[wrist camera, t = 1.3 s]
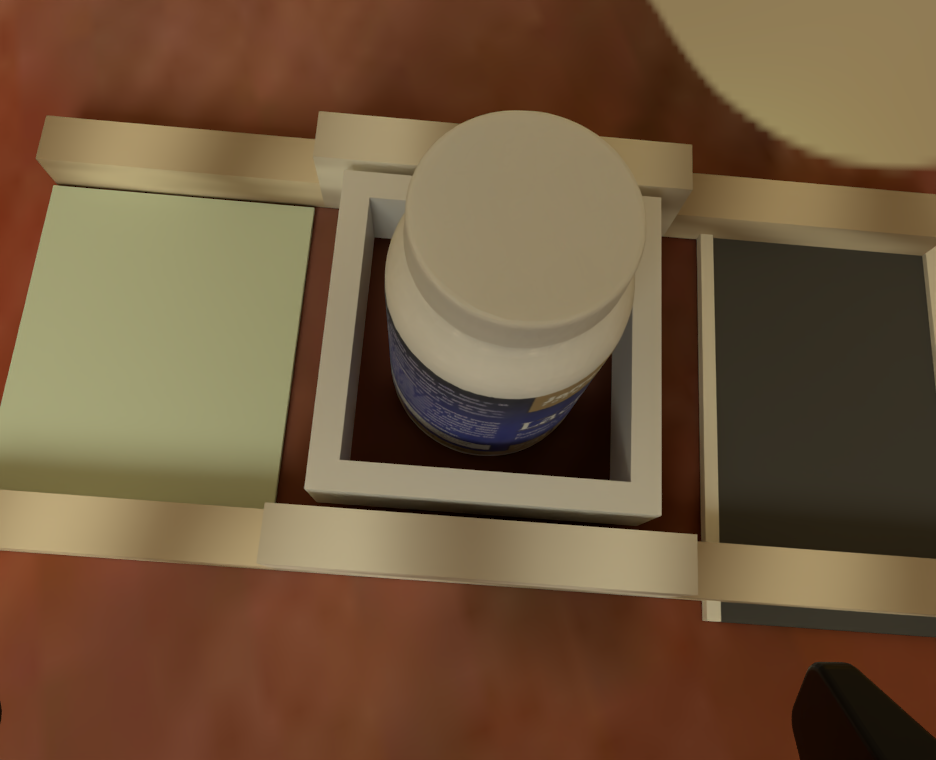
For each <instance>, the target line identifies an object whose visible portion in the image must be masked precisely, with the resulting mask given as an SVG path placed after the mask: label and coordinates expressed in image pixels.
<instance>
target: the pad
mask: <svg viewBox="0 0 936 760" xmlns="http://www.w3.org/2000/svg"><path fill="white" fill-rule="evenodd" d="M314 215H315V209H314V208H312V207H301V206H289V205H277V204H266V203H254V202H243V201H231V200H219V199H208V198H196V197H184V196H173V195H161V194H150V193H138V192H126V191H115V190H103V189H91V188H80V187H68V186H57V185H53V189H52V194H51V198H50V202H49V206H48V210H47V214H46V219H45V223H44V227H43V231H42V235H41V239H40V244H39V248H38V252H37V256H36V260H35V264H34V269H33V273H32V277H31V281H30V285H29V289H28V294H27V298H26V302H25V306H24V310H23V314H22V319H21V323H20V327H19V331H18V335H17V339H16V344H15V348H14V352H13V356H12V360H11V364H10V369H9V373H8V377H7V381H6V385H5V389H4V394H3V398H2V402H1V406H0V490H13V491H26V492H40V493H53V494H67V495H80V496H94V497H107V498H121V499H134V500H148V501H161V502H175V503H188V504H202V505H215V506H229V507H242V508H256V509H264V505H265V502H267V503H276V497H277V489H278V482H279V474H280V467H281V460H282V452H283V445H284V437H285V430H286V423H287V415H288V408H289V400H290V393H291V385H292V378H293V371H294V363H295V356H296V348H297V341H298V334H299V326H300V319H301V311H302V304H303V297H304V289H305V282H306V274H307V267H308V260H309V252H310V245H311V237H312V230H313V222H314Z"/></svg>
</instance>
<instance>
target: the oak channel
mask: <svg viewBox="0 0 936 760" xmlns="http://www.w3.org/2000/svg"><path fill="white" fill-rule="evenodd" d="M457 125H459V124H457V123H445V122H434V121H423V120H412V119H401V118H390V117H379V116H368V115H356V114H345V113H334V112H323V111H319V115H318V123H317V130H316V137H315V139H305V138H294V137H283V136H271V135H260V134H249V133H238V132H226V131H215V130H204V129H193V128H181V127H170V126H159V125H148V124H136V123H125V122H114V121H102V120H91V119H80V118H69V117H57V116H46V119H45V123H44V127H43V131H42V135H41V139H40V143H39V147H38V151H37V155H36V160H37V161H38V162H39V163H40V164H41V166H42V167H43V168H44V169H45V170H46V172H47V173H48V174H49V175H50V176H51V177H52V179H53V180H54V181H55V182H56V183H57V184H60V185H72V186H83V187H95V188H106V189H118V190H130V191H141V192H153V193H164V194H176V195H188V196H199V197H211V198H223V199H234V200H246V201H257V202H269V203H281V204H292V205H304V206H315V207H327V208H339V207H340V199H341V191H342V183H343V175H344V170H353V171H364V172H376V173H387V174H398V175H410V176H413V174H414V171H415V169H416V167H417V165H418V164H419V162H420V160H421V159H422V157H423V156H424V154H425V153H426V152H427V151H428V150H429V148H430V147H431V146H432V145H433V144H434V143H435V142H436V141H437V140H438V139H439V138H440V137H442V136H443V135H444V134H445V133H446V132H448V131H450V130H451V129H453V128H454V127H456V126H457ZM599 137H600V138H602V139H603V140H604V141H606V142H607V143H608V144H609V145H610V146H611V147H612V148H613V149H614V150H615V151H616V152H617V153H618V154H619V155H620V157H621V158H622V159H623V160H624V162H625V163H626V165H627V166H628V167H629V169H630V171H631V172H632V174H633V176H634V178H635V180H636V182H637V184H638V187H639V189H640V191H641V194H642V196H649V197H661V236H664V237H675V238H687V239H697V238H698V237H699V235H700V234H709V235H713V238H721V239H733V240H744V241H756V242H767V243H779V244H791V245H802V246H814V247H825V248H837V249H849V250H860V251H872V252H883V253H895V254H907V255H918V256H923V255H924V254H926V253H927V252H928V251H930V250H931V249H932V248H934V247H935V246H936V194H925V193H914V192H902V191H891V190H880V189H869V188H857V187H846V186H835V185H824V184H812V183H801V182H790V181H779V180H767V179H756V178H745V177H733V176H722V175H711V174H700V173H692V145H690V144H679V143H668V142H657V141H646V140H635V139H624V138H612V137H601V136H599ZM0 550H3V551H17V552H31V553H45V554H59V555H73V556H87V557H101V558H115V559H128V560H142V561H156V562H170V563H184V564H198V565H212V566H226V567H240V568H254V569H268V570H282V571H296V572H310V573H324V574H338V575H351V576H365V577H379V578H393V579H407V580H421V581H435V582H449V583H463V584H477V585H491V586H505V587H519V588H533V589H547V590H561V591H574V592H588V593H602V594H616V595H630V596H644V597H658V598H672V599H686V600H700V601H704V600H709V601H721V602H732V603H746V604H760V605H774V606H788V607H802V608H816V609H830V610H844V611H857V612H871V613H885V614H899V615H913V616H927V617H936V559H930V558H917V557H903V556H890V555H876V554H863V553H850V552H836V551H823V550H809V549H796V548H782V547H769V546H755V545H742V544H728V543H715V542H701V541H697V534H684V533H671V532H657V531H644V530H630V529H617V528H604V527H590V526H577V525H563V524H550V523H536V522H523V521H509V520H496V519H483V518H469V517H456V516H442V515H429V514H415V513H402V512H388V511H375V510H362V509H348V508H335V507H321V506H308V505H294V504H281V503H267V502H265V505H264V509H256V508H242V507H229V506H215V505H202V504H188V503H175V502H161V501H148V500H134V499H121V498H107V497H94V496H80V495H67V494H53V493H40V492H26V491H13V490H0Z"/></svg>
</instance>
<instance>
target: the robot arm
mask: <svg viewBox="0 0 936 760" xmlns="http://www.w3.org/2000/svg"><path fill="white" fill-rule="evenodd" d="M1 715H2V709H1V703H0V722H1ZM792 728H793V733H794V737H795V741H796V745H797V749H798V753H799V757H800V760H936V739H935V738H934V737H933V736H932V735H931V734H930V733H929V732H928V731H926V730H925V729H924V728H923V727H922V726H921V725H920V724H919V723H917V722H916V721H915V720H914V719H913V718H912V717H911V716H910V715H908V714H907V713H906V712H905V711H904V710H903V709H902V708H901V707H900V706H898V705H897V704H896V703H895V702H894V701H893V700H892V699H891V698H889V697H888V696H887V695H886V694H885V693H884V692H883V691H882V690H881V689H879V688H878V687H877V686H876V685H875V684H874V683H873V682H872V681H870V680H869V679H868V678H867V677H866V676H865V675H864V674H863V673H862V672H860V671H859V670H858V669H857V668H856V667H854V666H852V665H851V664H848V663H843V662H816V663H814V664H812V665H811V666H810V667H809V668H808V670H807V673H806V675H805V678H804V680H803V683H802V685H801V688H800V691H799V693H798V696H797V698H796V701H795V703H794V706H793V710H792Z"/></svg>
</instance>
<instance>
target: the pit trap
mask: <svg viewBox="0 0 936 760" xmlns="http://www.w3.org/2000/svg"><path fill="white" fill-rule="evenodd" d="M697 296H698V364H699V433H700V501H701V542H715V543H728V544H742V545H755V546H769V547H782V548H796V549H809V550H823V551H836V552H850V553H863V554H876V555H890V556H903V557H917V558H930V559H936V246H935V247H934V248H932V249H931V250H930V251H928V252H927V253H926V254H924V255H923V256H918V255H907V254H895V253H883V252H872V251H860V250H849V249H837V248H825V247H814V246H802V245H791V244H779V243H767V242H756V241H744V240H733V239H721V238H713V235H709V234H700V235H699V237H698V238H697ZM702 621H714V622H728V623H742V624H756V625H770V626H785V627H799V628H813V629H827V630H841V631H855V632H869V633H883V634H897V635H911V636H925V637H936V617H927V616H913V615H899V614H885V613H871V612H857V611H844V610H830V609H816V608H802V607H788V606H774V605H760V604H746V603H732V602H721V601H709V600H704V601H702Z"/></svg>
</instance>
